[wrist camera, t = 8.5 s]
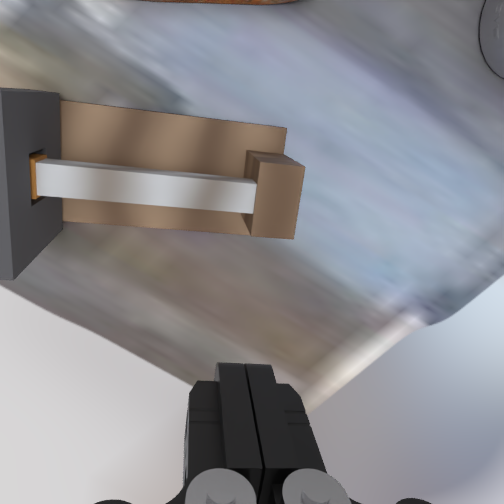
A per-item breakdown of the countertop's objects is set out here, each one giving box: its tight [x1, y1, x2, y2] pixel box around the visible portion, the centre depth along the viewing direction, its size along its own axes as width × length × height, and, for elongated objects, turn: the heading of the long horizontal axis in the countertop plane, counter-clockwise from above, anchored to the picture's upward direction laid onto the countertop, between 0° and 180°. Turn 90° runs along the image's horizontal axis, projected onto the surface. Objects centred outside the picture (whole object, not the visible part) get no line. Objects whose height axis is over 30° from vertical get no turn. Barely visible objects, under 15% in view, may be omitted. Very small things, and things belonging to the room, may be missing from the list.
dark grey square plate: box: [0, 88, 63, 280], centre depth 26 cm, size 2×10×10 cm, turn 173°
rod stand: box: [29, 100, 305, 239], centre depth 30 cm, size 24×9×8 cm, turn 83°
